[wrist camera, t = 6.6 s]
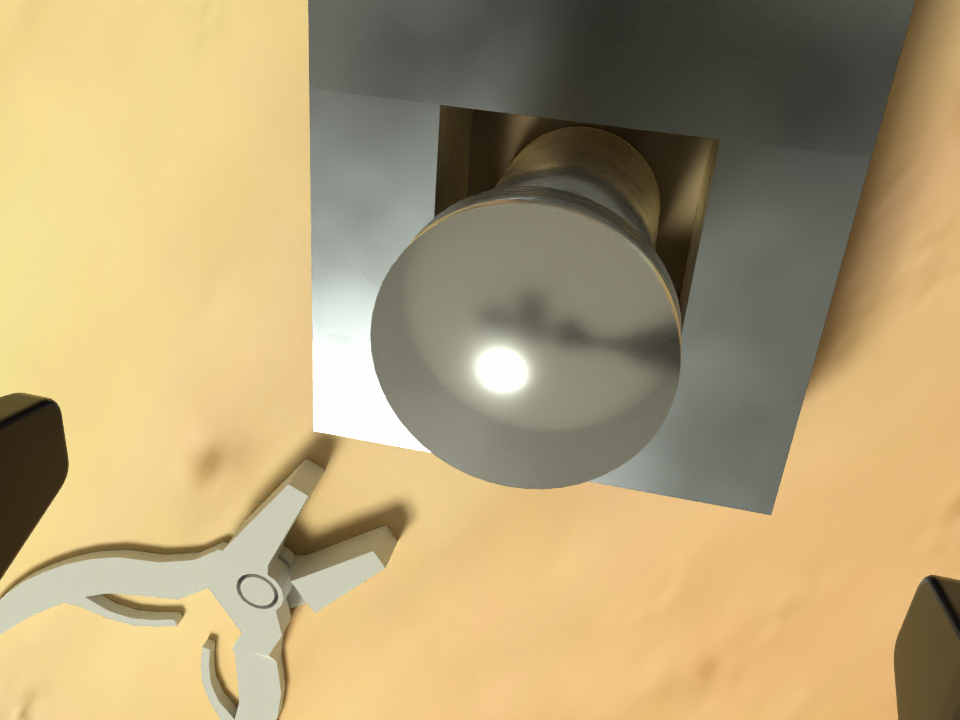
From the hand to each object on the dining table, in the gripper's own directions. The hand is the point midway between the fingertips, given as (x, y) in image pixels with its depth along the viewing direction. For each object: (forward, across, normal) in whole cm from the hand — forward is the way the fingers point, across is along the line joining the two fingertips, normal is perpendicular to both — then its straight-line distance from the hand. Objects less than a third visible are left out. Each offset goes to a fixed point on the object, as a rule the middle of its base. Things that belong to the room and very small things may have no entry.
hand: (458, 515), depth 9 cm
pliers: (+12, +10, +15) cm, 22 cm away
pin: (+12, 0, 0) cm, 12 cm away
